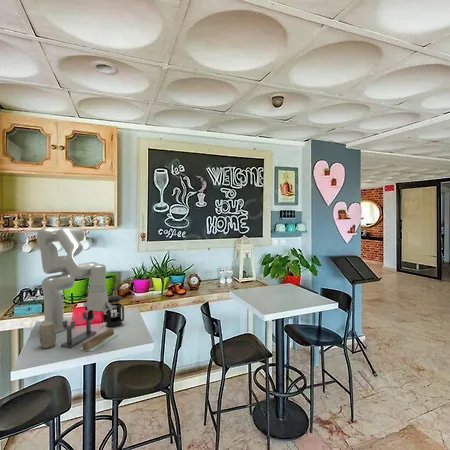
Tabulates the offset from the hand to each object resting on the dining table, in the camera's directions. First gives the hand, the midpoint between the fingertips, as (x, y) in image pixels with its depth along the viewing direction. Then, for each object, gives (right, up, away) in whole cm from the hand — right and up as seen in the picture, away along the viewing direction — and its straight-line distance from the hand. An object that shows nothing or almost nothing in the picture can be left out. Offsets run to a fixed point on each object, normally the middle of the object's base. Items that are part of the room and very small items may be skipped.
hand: (98, 320), depth 154 cm
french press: (0, -11, +25) cm, 27 cm away
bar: (+1, -11, 0) cm, 11 cm away
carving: (-24, -12, -4) cm, 27 cm away
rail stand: (-11, -12, +3) cm, 17 cm away
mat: (+1, -12, 0) cm, 12 cm away
